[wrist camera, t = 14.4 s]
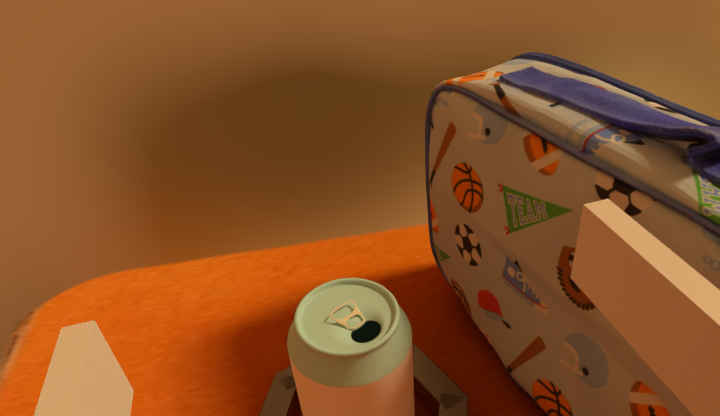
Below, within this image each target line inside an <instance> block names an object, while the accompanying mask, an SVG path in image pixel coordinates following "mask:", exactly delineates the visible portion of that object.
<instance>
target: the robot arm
mask: <svg viewBox="0 0 720 416" xmlns="http://www.w3.org/2000/svg"><path fill="white" fill-rule="evenodd" d="M570 278H571V279H572V280H573V281H574V282H575V283H576V285H577V286H578V287H579V288H580V289H581V290H582V291H583V292H584V294H585V295H586V296H587V297H588V298H589V299H590V300H591V301H592V303H593V304H594V305H595V306H596V307H597V308H598V309H599V310H600V312H601V313H602V314H603V315H604V316H605V317H606V318H607V319H608V321H609V322H610V323H611V324H612V325H613V326H614V327H615V328H616V329H617V331H618V332H619V333H620V334H621V335H622V336H623V337H624V338H625V340H626V341H627V342H628V343H629V344H630V345H631V346H632V347H633V349H634V350H635V351H636V352H637V353H638V354H639V355H640V356H641V358H642V359H643V360H644V361H645V362H646V363H647V364H648V365H649V367H650V368H651V369H652V370H653V371H654V372H655V373H656V374H657V376H658V377H659V378H660V379H661V380H662V381H663V382H664V383H665V385H666V386H667V387H668V388H669V389H670V390H671V391H672V392H673V394H674V395H675V396H676V397H677V398H678V399H679V400H680V401H681V402H682V404H683V405H684V406H685V407H686V408H687V409H688V410H689V411H690V413H691V414H692V415H693V416H720V290H719V289H718V288H716V287H715V286H714V285H713V284H712V283H710V282H709V281H708V280H707V279H705V278H704V277H703V276H702V275H701V274H699V273H698V272H697V271H696V270H695V269H693V268H692V267H691V266H690V265H688V264H687V263H686V262H685V261H684V260H682V259H681V258H680V257H679V256H677V255H676V254H675V253H674V252H673V251H671V250H670V249H669V248H668V247H667V246H665V245H664V244H663V243H662V242H660V241H659V240H658V239H657V238H656V237H654V236H653V235H652V234H651V233H649V232H648V231H647V230H646V229H645V228H643V227H642V226H641V225H640V224H638V223H637V222H636V221H635V220H634V219H632V218H631V217H630V216H629V215H628V214H626V213H625V212H624V211H623V210H621V209H620V208H619V207H618V206H617V205H615V204H614V203H613V202H612V201H610V200H609V199H604V200H600V201H596V202H591V203H587V204H584V205H583V210H582V216H581V221H580V227H579V232H578V238H577V243H576V249H575V255H574V260H573V266H572V271H571V277H570ZM133 392H134V390H133V388H132V387H131V385H130V383H129V381H128V379H127V378H126V376H125V374H124V372H123V370H122V369H121V367H120V365H119V363H118V361H117V360H116V358H115V356H114V354H113V352H112V351H111V349H110V347H109V345H108V343H107V342H106V340H105V338H104V336H103V334H102V333H101V331H100V329H99V327H98V325H97V324H96V322H95V320H93V321H89V322H85V323H80V324H76V325H72V326H68V327H64V328H61V331H60V334H59V337H58V340H57V343H56V347H55V350H54V353H53V356H52V359H51V363H50V366H49V369H48V372H47V375H46V378H45V382H44V385H43V388H42V391H41V394H40V398H39V401H38V404H37V407H36V410H35V413H34V416H130V414H131V406H132V399H133Z"/></svg>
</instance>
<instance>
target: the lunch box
mask: <svg viewBox="0 0 720 416" xmlns="http://www.w3.org/2000/svg"><path fill="white" fill-rule="evenodd" d="M425 167H426V192H427V206H428V223H429V236H430V244H431V248H432V252H433V255H434V258H435V261H436V263H437V265H438V267H439V269H440V271H441V272H442V274H443V275H444V277H445V279H446V280H447V282H448V283H449V285H450V286H451V288H452V289H453V291H454V293H455V294H456V296H457V298H458V299H459V301H460V302H461V303H462V305H463V306H464V307H465V309H466V311H467V312H468V314H469V316H470V317H471V319H472V320H473V321H474V323H475V324H476V326H477V327H478V328H479V330H480V331H481V333H482V334H483V335H484V336H485V338H486V339H487V341H488V342H489V344H490V345H491V346H492V348H493V349H494V351H495V352H496V353H497V355H498V356H499V357H500V359H501V361H502V362H503V364H504V367H505V369H506V370H507V371H508V373H509V374H510V376H511V378H512V379H513V381H514V382H515V383H516V384H517V385H518V386H519V387H521V388H522V389H523V390H524V391H525V392H526V393H527V394H528V395H529V396H530V397H531V398H532V399H533V400H534V401H535V402H536V403H537V404H538V405H539V406H540V407H541V408H542V409H543V410H544V412H545V413H546V414H547V415H548V416H693V415H692V414H691V413H690V411H689V410H688V409H687V408H686V407H685V406H684V405H683V404H682V402H681V401H680V400H679V399H678V398H677V397H676V396H675V395H674V394H673V392H672V391H671V390H670V389H669V388H668V387H667V386H666V385H665V383H664V382H663V381H662V380H661V379H660V378H659V377H658V376H657V374H656V373H655V372H654V371H653V370H652V369H651V368H650V367H649V365H648V364H647V363H646V362H645V361H644V360H643V359H642V358H641V356H640V355H639V354H638V353H637V352H636V351H635V350H634V349H633V347H632V346H631V345H630V344H629V343H628V342H627V341H626V340H625V338H624V337H623V336H622V335H621V334H620V333H619V332H618V331H617V329H616V328H615V327H614V326H613V325H612V324H611V323H610V322H609V321H608V319H607V318H606V317H605V316H604V315H603V314H602V313H601V312H600V310H599V309H598V308H597V307H596V306H595V305H594V304H593V303H592V301H591V300H590V299H589V298H588V297H587V296H586V295H585V294H584V292H583V291H582V290H581V289H580V288H579V287H578V286H577V285H576V283H575V282H574V281H573V280H572V279H571V278H570V277H571V271H572V266H573V260H574V255H575V249H576V243H577V238H578V232H579V227H580V221H581V216H582V210H583V205H584V204H587V203H591V202H596V201H600V200H604V199H609V200H610V201H612V202H613V203H614V204H615V205H617V206H618V207H619V208H620V209H621V210H623V211H624V212H625V213H626V214H628V215H629V216H630V217H631V218H632V219H634V220H635V221H636V222H637V223H638V224H640V225H641V226H642V227H643V228H645V229H646V230H647V231H648V232H649V233H651V234H652V235H653V236H654V237H656V238H657V239H658V240H659V241H660V242H662V243H663V244H664V245H665V246H667V247H668V248H669V249H670V250H671V251H673V252H674V253H675V254H676V255H677V256H679V257H680V258H681V259H682V260H684V261H685V262H686V263H687V264H688V265H690V266H691V267H692V268H693V269H695V270H696V271H697V272H698V273H699V274H701V275H702V276H703V277H704V278H705V279H707V280H708V281H709V282H710V283H712V284H713V285H714V286H715V287H716V288H718V289H719V290H720V120H717V119H715V118H712V117H709V116H706V115H704V114H702V113H699V112H696V111H694V110H691V109H688V108H686V107H684V106H681V105H678V104H676V103H673V102H671V101H669V100H666V99H664V98H662V97H659V96H657V95H654V94H652V93H650V92H648V91H645V90H643V89H641V88H638V87H635V86H633V85H630V84H628V83H625V82H622V81H620V80H618V79H615V78H613V77H610V76H608V75H606V74H603V73H601V72H598V71H596V70H593V69H590V68H588V67H586V66H583V65H580V64H577V63H574V62H571V61H569V60H566V59H562V58H559V57H556V56H552V55H549V54H544V53H537V52H528V53H524V54H521V55H519V56H516V57H514V58H513V59H511V60H510V61H508V62H506V63H503V64H501V65H498V66H495V67H493V68H490V69H487V70H485V71H482V72H478V73H474V74H472V75H468V76H464V77H459V78H454V79H450V80H445V81H443V82H441V83H440V84H438V85H437V86H436V87H435V88H434V90H433V91H432V93H431V95H430V98H429V102H428V107H427V113H426V121H425Z"/></svg>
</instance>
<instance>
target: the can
mask: <svg viewBox="0 0 720 416" xmlns="http://www.w3.org/2000/svg"><path fill="white" fill-rule="evenodd" d="M287 350H288V354H289V358H290V363H291V367H292V371H293V376H294V380H295V384H296V389H297V393H298V397H299V402H300V406H301V410H302V415H303V416H415V411H414V379H413V347H412V329H411V324H410V322H409V319H408V317H407V315H406V314H405V312H404V311H403V309H402V308H401V307H400V306H399V305H398V303H397V300H396V298H395V297H394V296H393V294H392V293H391V292H390V291H389V290H388V289H386V288H385V287H384V286H382V285H380V284H378V283H376V282H373V281H370V280H366V279H361V278H342V279H336V280H333V281H329V282H326V283H324V284H322V285H320V286H318V287H316V288H314V289H313V290H312V291H310V292H309V293H308V294H307V295H306V296H305V297H304V298H303V299H302V300H301V301H300V303H299V305H298V306H297V309H296V311H295V315H294V320H293V322H292V324H291V326H290V329H289V332H288V337H287Z"/></svg>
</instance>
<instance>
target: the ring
mask: <svg viewBox="0 0 720 416" xmlns="http://www.w3.org/2000/svg"><path fill="white" fill-rule="evenodd" d="M412 347H413V379H414V393H415V395H416V396H417V397H418V398H419V399H420V400H421V401H422V402H423V403H424V404H425V405H426V406H427V407H428V409H429V410H430V411H431V412H432V413H433V414H434V415H435V416H467V402H468V396H467V395H466V394H465V393H464V392H463V391H462V390H461V389H460V388H459V387H458V386H457V385H456V384H455V383H454V382H453V381H452V380H451V379H450V378H449V377H448V376H447V375H445V374H444V373H443V372H442V371H441V370H440V369H439V368H438V367H437V366H436V365H435V364H434V363H433V362H432V361H431V360H430V359H429V358H428V357H427V356H426V355H425V354H424V353H423V352H422V351H421V350H420V349H419V348H418V347H417V346H416V345H415V344H412ZM299 406H300V402H299V397H298V393H297V389H296V384H295V380H294V376H293V371H292V367H291V366H289V367H287V368H286V369H284V370H282V371H280V372H279V373H277V374H275V377H274V379H273V382H272V384H271V387H270V390H269V392H268V395H267V397H266V400H265V402H264V405H263V407H262V410H261V413H260V415H259V416H296V415H297V412H298V409H299Z"/></svg>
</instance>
